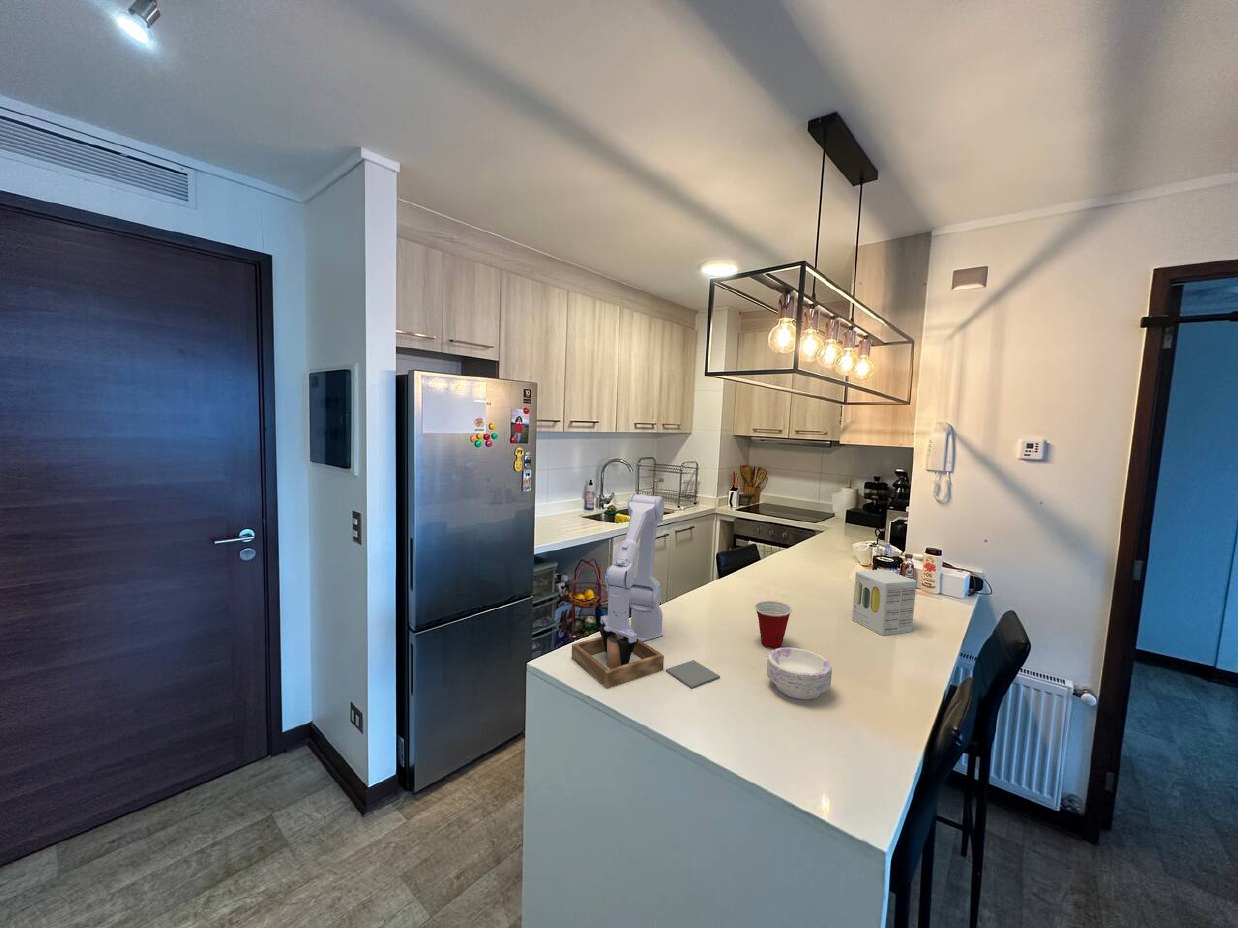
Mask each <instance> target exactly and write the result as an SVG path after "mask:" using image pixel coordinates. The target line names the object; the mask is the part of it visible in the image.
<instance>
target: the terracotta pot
mask: <svg viewBox="0 0 1238 928" xmlns="http://www.w3.org/2000/svg"><path fill="white" fill-rule="evenodd" d="M619 639H623V636H622V635H611V636H609V637H608V638H607V653H606V666H607V668H609V669H613V668H616V667H619V666H622V664H621V661H620V650H619V646H618V643H617V640H619Z"/></svg>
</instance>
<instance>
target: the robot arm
mask: <svg viewBox="0 0 1238 928" xmlns="http://www.w3.org/2000/svg"><path fill="white" fill-rule="evenodd" d="M664 509H665V502H664V499H663V497H662V496H661V495H657V496H655V495H649V494H648V495H647V494H646V495H645V494H637V493H632V494H631V495H630V496H629V498H628V501H627V510H628V515H629V522H628V526H627V530H626V535H625V538H624V540H622V541H620V542H619V544H618V548H617V551H616V554H615V555H614V560H613V561H612V562H613V563H612V564H611V565H609V566H608V567H607V569H606V572H605V579H604V580H605V581H604V582H605V585H606V593H608V594H607V595H608V600H607V601H608V602H607V614H606V615H603V616H602V615H601V616H600V624H601V626H599V627H598V629H597V630H598V633H600V637H602V639H603V643H604V648H605V651H604V652H605V653H606V654H607V638H608V637H609V636H611V635H616V633H617V634H620V635H622V636H623V639H619V640H617V643H618V646H619V650H620V661H621V664H622V665H625V664H629V663H630V660H631V657H632V654H633V652H632V651H633V649H634V647H635V646H636V644H637V643H638V639H639V640H641V641H642V642H645V641H646V642H647V641H650V640H652V639H655V638H660V637H664V633H663V612H662V608H661V607H660V604H661V601H662V591H661V590H662V589H661V587H662V586H661V582H660V581H659V580H658V579H657V578H655V577H654V575H653V574H654V565H655V552H656V551H655V550H656V540H657V530H658V528H657V527H658V524H660V523H663V519H664V514H665V513H664V512H665V510H664ZM638 542H639V544H638ZM637 558H638V559H637ZM636 562H637V571H636V568H635V565H636ZM635 571H636V572H637V573H636V572H635ZM635 573H636V575H635ZM630 608H631V611H630ZM630 612H631V613H630ZM630 614H631V615H630ZM629 622H630V623H629ZM637 638H638V639H637Z"/></svg>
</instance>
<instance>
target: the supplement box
mask: <svg viewBox="0 0 1238 928" xmlns="http://www.w3.org/2000/svg"><path fill="white" fill-rule="evenodd" d="M853 590H854V591H853V604H852V615H851V616H852V617H851V621H853V620H854V621H853V622H854V623H856V624H858V623H859V624H858V625H860V624H861V625H860V626H862V625H863V626H862V627H864V628H866V629H868V630H870V631H873V632H874V633H876V634H878V635H880V636H891V635H898V634H899V635H900V634H906V633H912V632H913V623H914V611H915V603H916V602H915V599H916V591H917V580H915V579H913V578H909V577H907V576H904V575H901V574H898V573H895V572H892V571H890V570H887V569H883V568H881V569H870V570H859V571H855V576H854V589H853Z"/></svg>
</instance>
